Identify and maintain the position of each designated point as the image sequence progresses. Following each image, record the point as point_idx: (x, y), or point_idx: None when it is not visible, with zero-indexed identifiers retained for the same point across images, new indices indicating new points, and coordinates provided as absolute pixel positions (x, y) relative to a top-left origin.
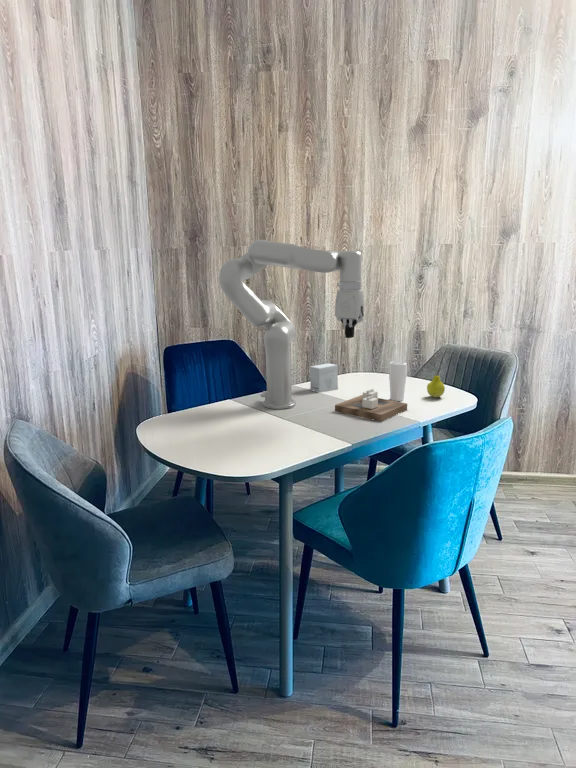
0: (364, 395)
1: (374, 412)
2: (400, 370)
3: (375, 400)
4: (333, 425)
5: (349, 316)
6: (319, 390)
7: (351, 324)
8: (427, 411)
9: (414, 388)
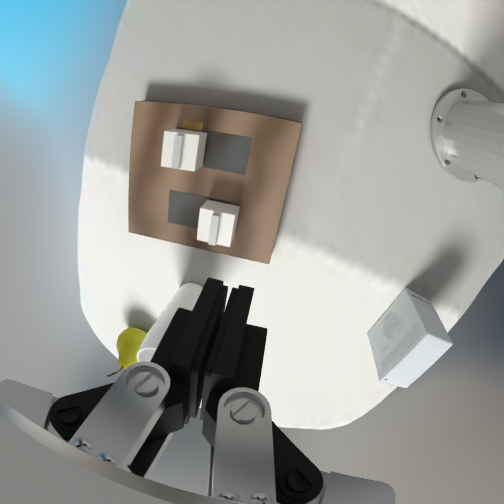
0: (230, 210)
1: (159, 108)
2: (148, 335)
3: (163, 151)
4: (244, 7)
5: (29, 471)
6: (406, 291)
7: (116, 386)
8: (102, 234)
9: None
